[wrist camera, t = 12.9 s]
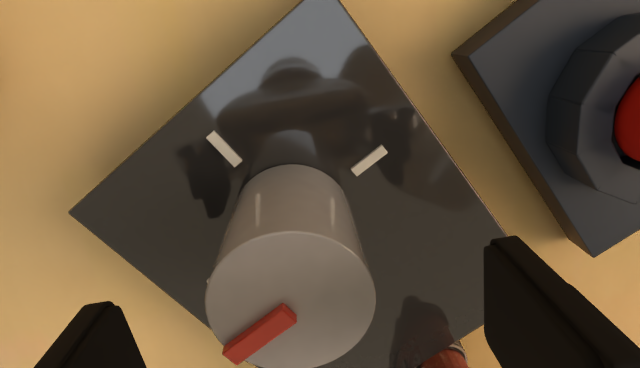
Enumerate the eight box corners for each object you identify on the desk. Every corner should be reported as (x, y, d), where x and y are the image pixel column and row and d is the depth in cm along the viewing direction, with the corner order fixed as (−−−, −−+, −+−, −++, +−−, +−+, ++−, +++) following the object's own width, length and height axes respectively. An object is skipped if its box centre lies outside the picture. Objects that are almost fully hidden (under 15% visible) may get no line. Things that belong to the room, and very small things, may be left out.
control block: (729, 135, 17) (830, 159, 14) (568, 239, 19) (626, 283, 16) (639, -98, 14) (746, -137, 10) (449, 53, 15) (491, 60, 12)
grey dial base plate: (513, 255, 19) (546, 289, 16) (322, 380, 21) (326, 427, 19) (319, -13, 14) (325, -22, 12) (98, 186, 16) (63, 214, 14)
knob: (298, 139, 14) (300, 202, 9) (373, 223, 15) (412, 319, 10) (208, 214, 14) (163, 311, 9) (287, 288, 16) (284, 404, 11)
